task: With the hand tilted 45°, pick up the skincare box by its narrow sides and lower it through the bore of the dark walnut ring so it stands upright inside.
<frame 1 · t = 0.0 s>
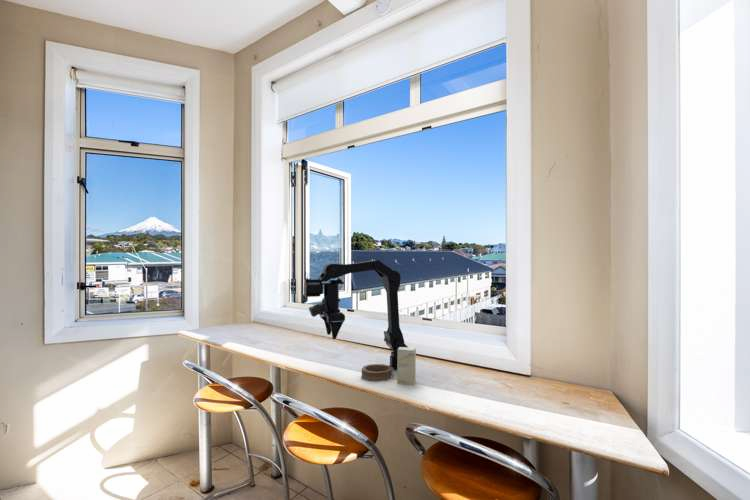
hand: (331, 336, 141), 15 cm above the table, tool pointing down, fingers open, 9 cm apart
walnut ring: (377, 376, 139), on the table
skincare box: (406, 383, 132), on the table
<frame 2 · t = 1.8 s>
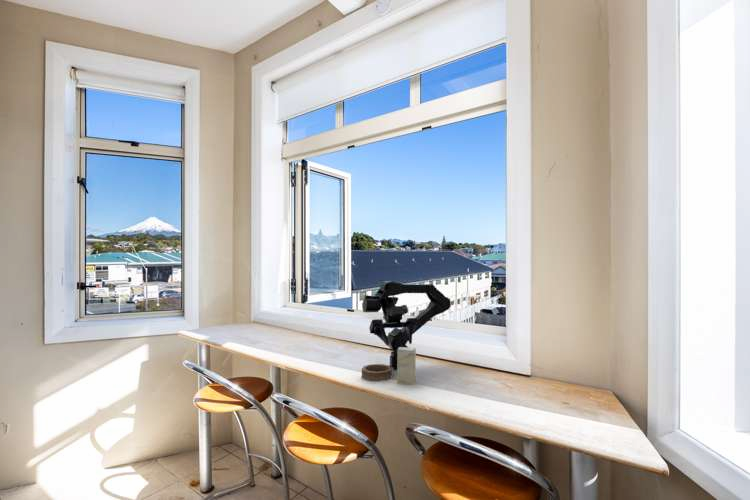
hand: (399, 344, 137), 13 cm above the table, tool tilted 45°, fingers open, 9 cm apart
nothing on the table moved.
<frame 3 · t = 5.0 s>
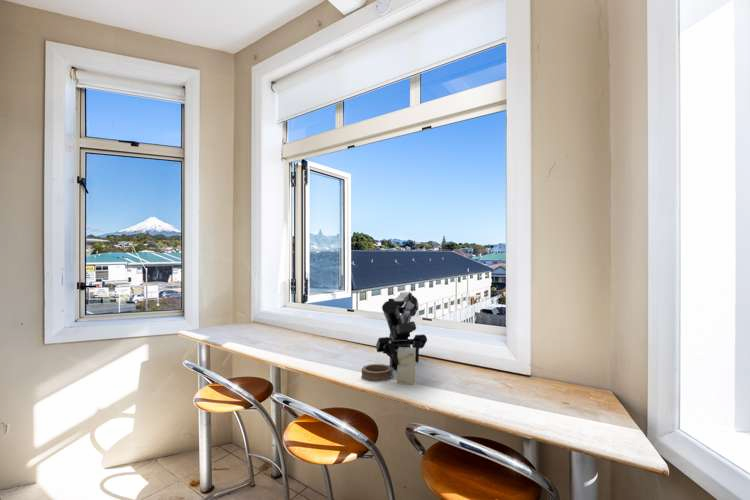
hand: (408, 363, 131), 7 cm above the table, tool tilted 45°, fingers closed on skincare box, 7 cm apart
skincare box: (406, 382, 132), on the table, touching gripper
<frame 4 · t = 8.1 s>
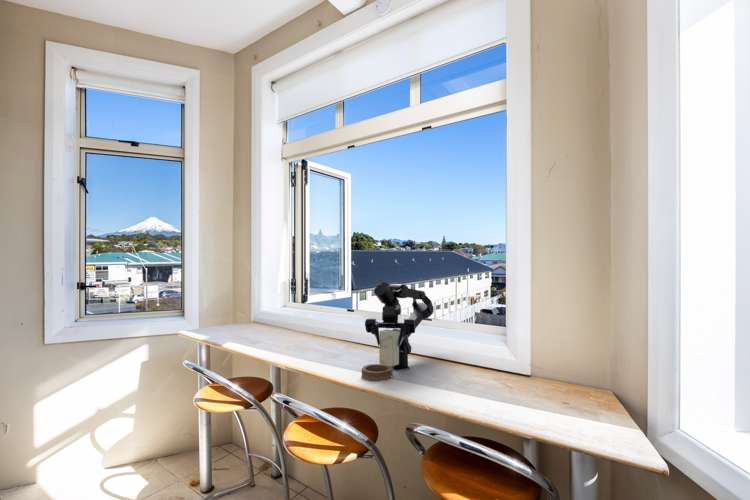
hand: (388, 345, 134), 13 cm above the table, tool tilted 45°, fingers closed on skincare box, 7 cm apart
skincare box: (389, 364, 135), point 6 cm above the table, touching gripper
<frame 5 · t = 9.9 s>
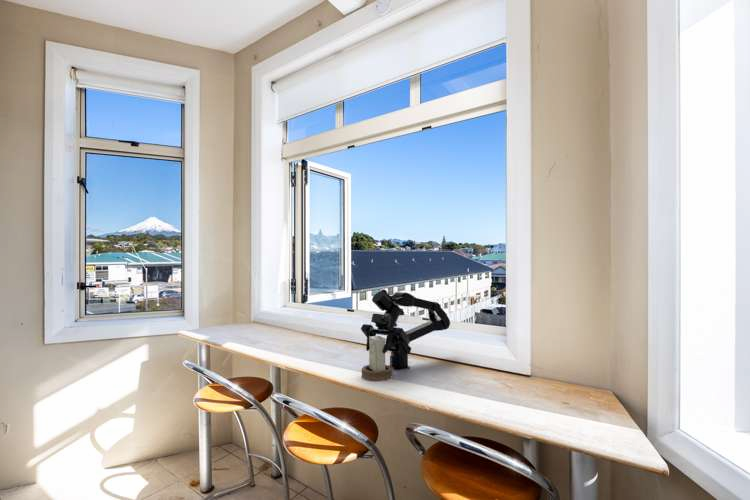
hand: (375, 351, 138), 10 cm above the table, tool tilted 45°, fingers closed on skincare box, 7 cm apart
skincare box: (377, 370, 139), point 2 cm above the table, touching gripper
when the fingers open (8 cm above the table, at t = 11.4 s): skincare box drops 1 cm, resting in walnut ring.
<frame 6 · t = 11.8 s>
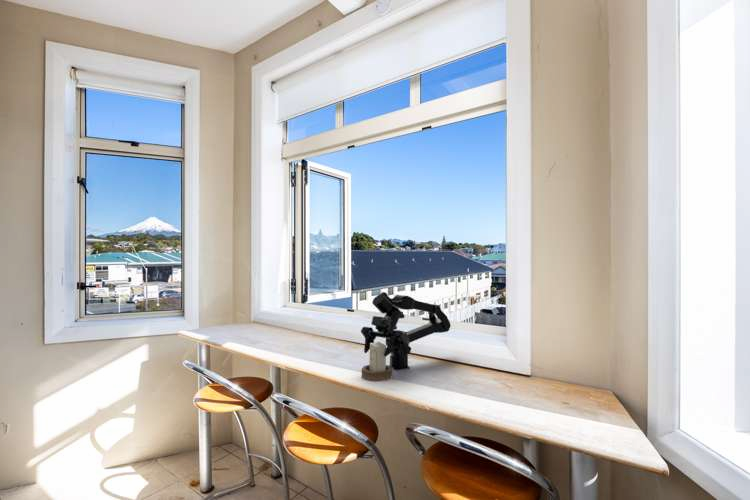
hand: (374, 354, 138), 9 cm above the table, tool tilted 45°, fingers open, 9 cm apart
skincare box: (377, 376, 139), resting in walnut ring
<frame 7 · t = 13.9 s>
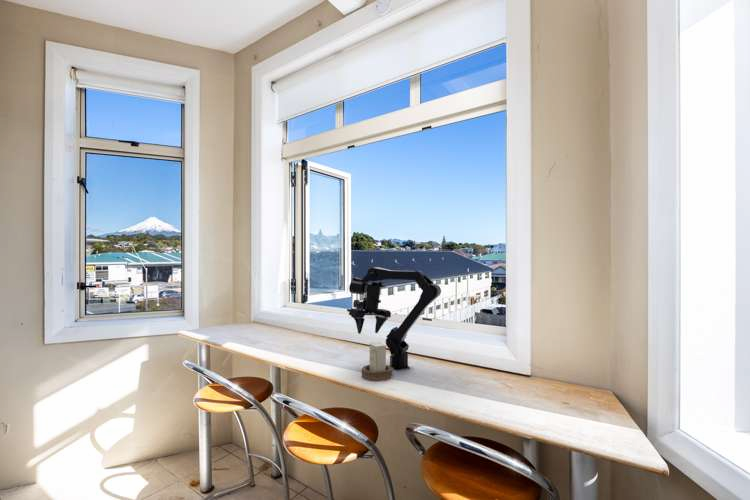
hand: (367, 333, 155), 13 cm above the table, tool pointing down, fingers open, 9 cm apart
nothing on the table moved.
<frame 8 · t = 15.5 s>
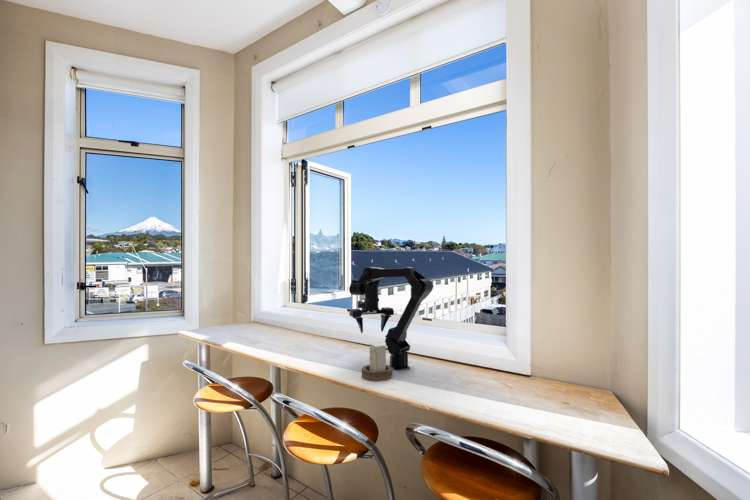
hand: (371, 332, 159), 13 cm above the table, tool pointing down, fingers open, 9 cm apart
nothing on the table moved.
at the end: skincare box 0.2 cm off-centre on the walnut ring, point 0.0 cm above the walnut ring's base; skincare box tilted 0°; the gripper is holding nothing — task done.
